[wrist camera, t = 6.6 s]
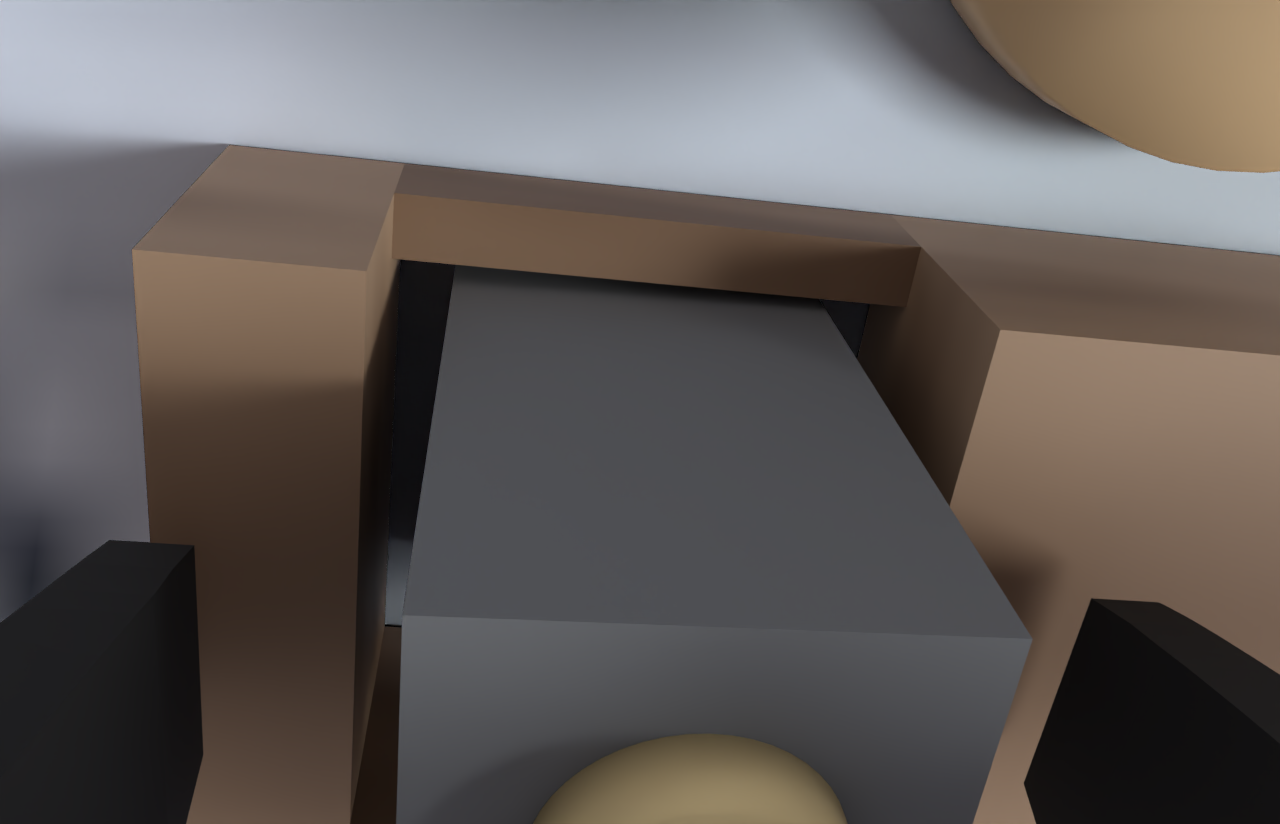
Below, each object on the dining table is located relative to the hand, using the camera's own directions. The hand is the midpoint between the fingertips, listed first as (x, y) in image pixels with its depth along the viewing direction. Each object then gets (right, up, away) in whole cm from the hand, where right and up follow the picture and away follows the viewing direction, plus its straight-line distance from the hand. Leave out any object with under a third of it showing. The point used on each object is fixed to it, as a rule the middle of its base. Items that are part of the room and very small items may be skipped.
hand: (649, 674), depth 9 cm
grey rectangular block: (0, +2, +3) cm, 4 cm away
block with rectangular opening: (+2, +1, +3) cm, 4 cm away
